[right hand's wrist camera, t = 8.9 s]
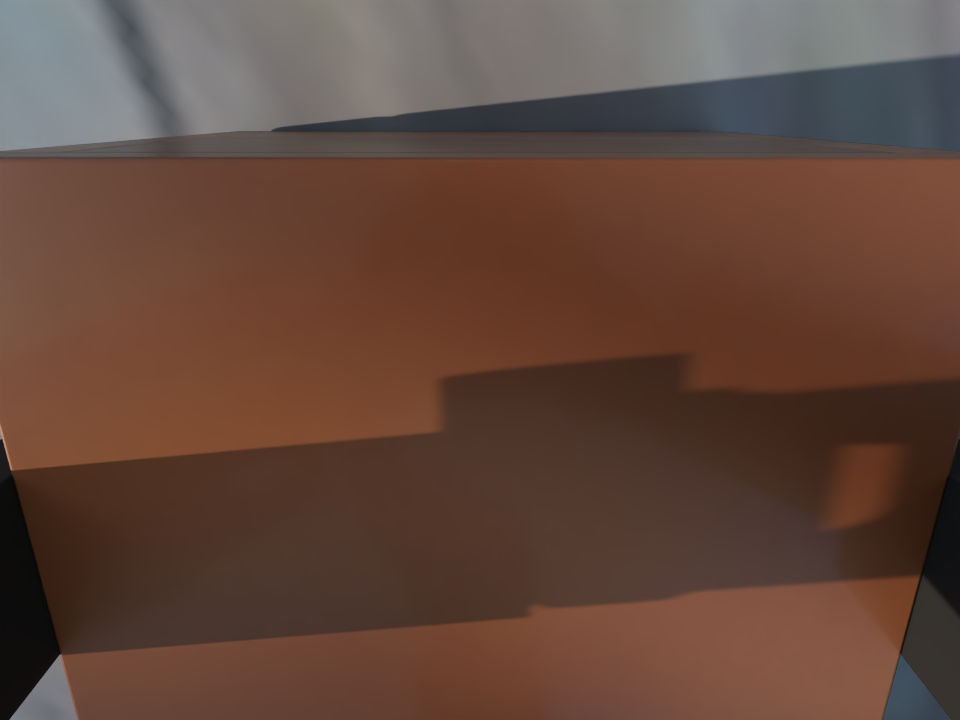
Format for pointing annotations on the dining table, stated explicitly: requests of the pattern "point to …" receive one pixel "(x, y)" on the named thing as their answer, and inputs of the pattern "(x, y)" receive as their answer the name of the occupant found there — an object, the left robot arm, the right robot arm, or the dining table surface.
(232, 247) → the wooden drawer cabinet
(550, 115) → the dining table surface
